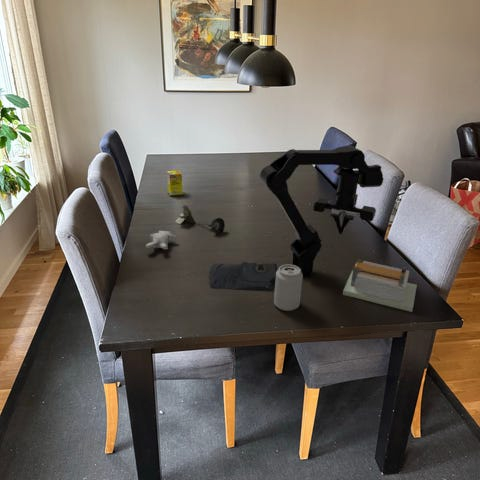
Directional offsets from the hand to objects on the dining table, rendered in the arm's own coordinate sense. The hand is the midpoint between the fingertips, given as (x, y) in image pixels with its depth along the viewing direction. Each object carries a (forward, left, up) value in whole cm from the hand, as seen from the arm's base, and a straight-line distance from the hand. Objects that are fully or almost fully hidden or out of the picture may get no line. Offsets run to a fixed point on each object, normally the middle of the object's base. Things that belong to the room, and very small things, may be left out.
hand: (340, 233), depth 140 cm
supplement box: (-69, +64, -13) cm, 95 cm away
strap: (+11, -13, -6) cm, 18 cm away
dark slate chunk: (-31, -10, -14) cm, 35 cm away
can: (-17, -24, -13) cm, 32 cm away
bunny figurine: (-62, +8, -13) cm, 64 cm away
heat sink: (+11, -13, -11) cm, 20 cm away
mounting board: (+12, -13, -13) cm, 22 cm away
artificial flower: (-52, +28, -14) cm, 61 cm away
